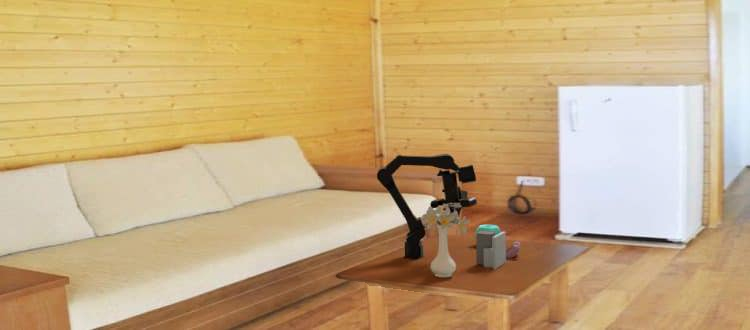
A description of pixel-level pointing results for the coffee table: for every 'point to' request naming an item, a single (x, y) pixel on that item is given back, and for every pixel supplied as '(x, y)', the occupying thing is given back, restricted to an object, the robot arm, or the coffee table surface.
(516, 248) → the video game controller
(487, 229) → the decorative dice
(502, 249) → the arched bridge stand
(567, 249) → the coffee table surface
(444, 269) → the flower vase
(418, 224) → the robot arm
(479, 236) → the plug
